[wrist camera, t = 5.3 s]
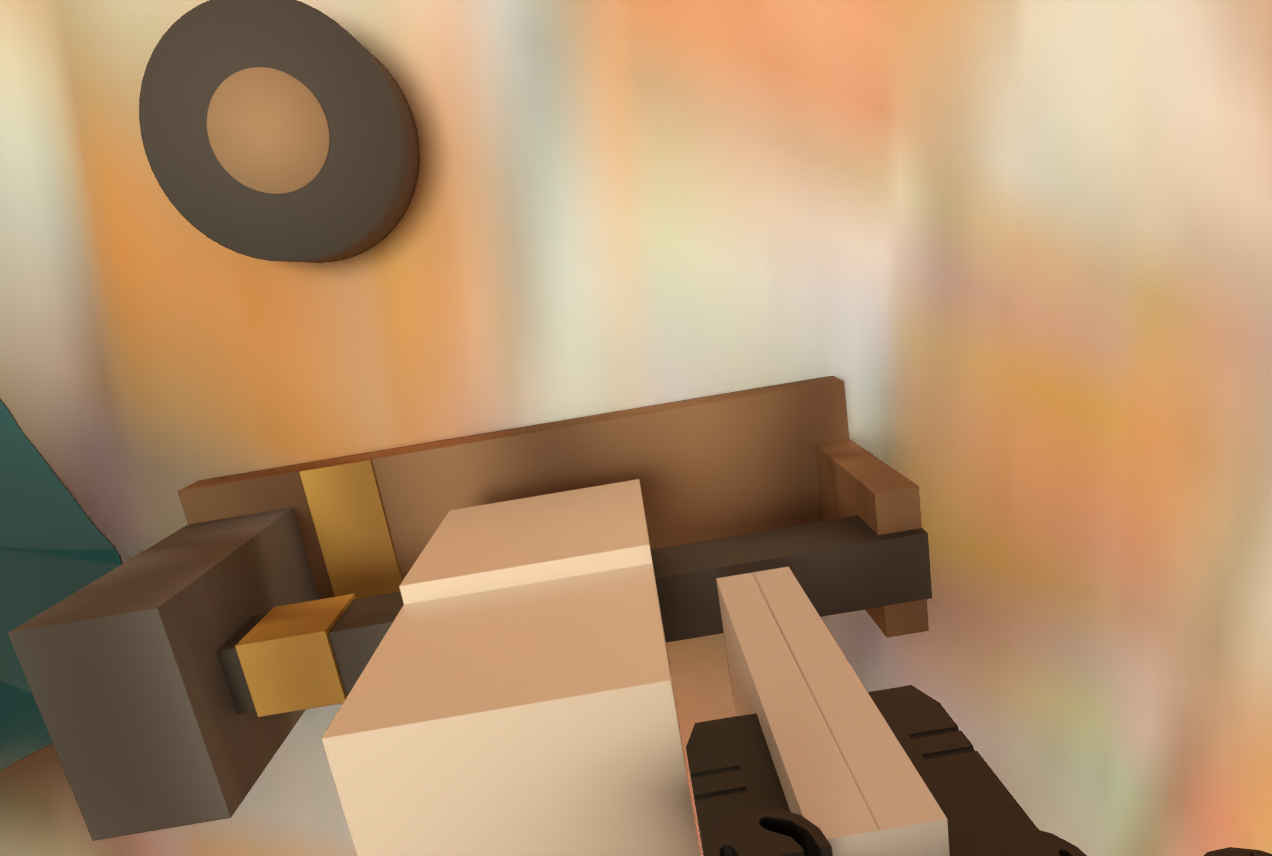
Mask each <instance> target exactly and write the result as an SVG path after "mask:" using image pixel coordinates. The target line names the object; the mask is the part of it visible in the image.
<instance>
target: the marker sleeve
mask: <svg viewBox="0 0 1272 856" xmlns="http://www.w3.org/2000/svg"><path fill="white" fill-rule="evenodd" d="M399 587H400V591H401V595H402V599H403V603H404V605H403V607H402V609H401V610H400V612H399V613H398V615H397V617H396V618H395V620H394V622H393V623H392V625H391V626H390V628H389V630H388V631H387V633H386V635H385V636H384V638H383V639H382V641H381V643H380V644H379V646H378V648H377V649H376V651H375V652H374V654H373V656H372V657H371V659H370V661H369V662H368V664H367V665H366V667H365V669H364V670H363V672H362V674H361V675H360V677H359V678H358V680H357V682H356V683H355V685H354V687H353V688H352V690H351V692H350V693H349V695H348V696H347V698H346V700H345V701H344V703H343V705H342V706H341V708H340V709H339V711H338V713H337V714H336V716H335V718H334V719H333V721H332V722H331V724H330V726H329V727H328V729H327V731H326V732H325V734H324V735H323V737H322V742H323V745H324V748H325V752H326V755H327V758H328V762H329V765H330V768H331V771H332V775H333V778H334V781H335V784H336V788H337V791H338V794H339V798H340V801H341V804H342V807H343V811H344V814H345V817H346V821H347V824H348V827H349V830H350V834H351V837H352V840H353V843H354V847H355V850H356V853H357V856H700V852H699V845H698V839H697V833H696V826H695V820H694V814H693V808H692V801H691V795H690V789H689V782H688V776H687V770H686V764H685V757H684V751H683V745H682V738H681V731H680V725H679V719H678V713H677V706H676V700H675V694H674V687H673V681H672V675H671V669H670V662H669V656H668V650H667V644H666V641H665V635H664V629H663V623H662V617H661V611H660V605H659V599H658V593H657V587H656V581H655V575H654V569H653V562H652V556H651V547H650V541H649V535H648V529H647V523H646V517H645V511H644V505H643V499H642V493H641V487H640V481H639V479H636V480H630V481H624V482H618V483H612V484H606V485H600V486H594V487H588V488H582V489H576V490H570V491H564V492H558V493H552V494H546V495H540V496H534V497H528V498H522V499H516V500H510V501H504V502H498V503H492V504H486V505H480V506H474V507H468V508H462V509H456V510H450V511H449V512H448V514H447V515H446V517H445V518H444V520H443V521H442V523H441V524H440V526H439V527H438V529H437V530H436V532H435V533H434V535H433V536H432V538H431V539H430V541H429V542H428V544H427V545H426V547H425V548H424V550H423V551H422V553H421V554H420V556H419V557H418V559H417V560H416V562H415V563H414V565H413V566H412V568H411V569H410V571H409V572H408V574H407V575H406V577H405V578H404V580H403V581H402V583H401V584H400V586H399Z"/></svg>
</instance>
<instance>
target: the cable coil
mask: <svg viewBox="0 0 1272 856" xmlns="http://www.w3.org/2000/svg"><path fill="white" fill-rule="evenodd" d="M139 120H140V128H141V136H142V140H143V144H144V149H145V153H146V155H147V158H148V161H149V164H150V166H151V169H152V171H153V173H154V175H155V177H156V179H157V181H158V183H159V185H160V187H161V188H162V190H163V191H164V193H165V194H166V196H167V197H168V199H169V200H170V202H171V203H172V204H173V205H174V206H175V208H176V209H177V210H178V211H179V212H180V214H181V215H182V216H183V217H184V218H185V219H187V220H188V221H189V222H190V223H191V224H192V225H193V226H194V227H195V228H196V229H198V230H199V231H200V232H202V233H203V234H204V235H206V236H207V237H208V238H210V239H212V240H213V241H215V242H217V243H218V244H220V245H222V246H224V247H226V248H228V249H230V250H233V251H235V252H237V253H240V254H243V255H246V256H250V257H253V258H257V259H263V260H269V261H289V262H316V263H322V262H333V261H338V260H342V259H347V258H350V257H352V256H355V255H358V254H360V253H362V252H364V251H366V250H368V249H369V248H371V247H373V246H374V245H376V244H377V243H378V242H380V241H381V240H382V239H384V238H385V237H386V236H387V235H388V234H389V233H390V232H391V231H392V230H393V229H394V228H395V226H396V225H397V223H398V222H399V221H400V219H401V218H402V217H403V215H404V213H405V211H406V209H407V207H408V206H409V204H410V201H411V198H412V196H413V193H414V190H415V186H416V182H417V177H418V170H419V142H418V136H417V129H416V126H415V122H414V119H413V115H412V112H411V110H410V107H409V105H408V103H407V100H406V98H405V96H404V95H403V93H402V91H401V89H400V87H399V86H398V84H397V83H396V81H395V80H394V79H393V77H392V76H391V74H390V73H389V72H388V70H387V69H386V68H385V67H384V66H383V65H382V64H381V63H380V62H379V61H378V60H377V59H376V58H375V57H374V56H373V55H372V54H371V53H370V52H369V51H368V50H367V49H366V48H364V47H363V46H362V45H361V44H360V43H359V42H358V41H357V40H356V39H355V38H354V37H353V36H352V35H350V34H349V33H348V32H347V31H346V30H345V29H344V28H342V27H341V26H340V25H339V24H338V23H337V22H335V21H334V20H333V19H331V18H329V17H328V16H326V15H325V14H323V13H322V12H320V11H319V10H317V9H315V8H313V7H311V6H309V5H307V4H305V3H303V2H300V1H297V0H210V1H207V2H205V3H202V4H200V5H198V6H197V7H195V8H193V9H192V10H190V11H189V12H187V13H186V14H184V15H183V16H182V17H181V18H180V19H178V20H177V21H176V22H175V23H174V24H173V25H172V26H171V27H170V28H169V29H168V31H167V32H166V33H165V34H164V35H163V36H162V38H161V40H160V41H159V43H158V44H157V46H156V47H155V49H154V51H153V53H152V55H151V57H150V60H149V62H148V64H147V66H146V70H145V73H144V77H143V80H142V85H141V92H140V99H139Z"/></svg>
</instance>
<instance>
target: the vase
mask: <svg viewBox="0 0 1272 856" xmlns="http://www.w3.org/2000/svg"><path fill="white" fill-rule="evenodd" d="M120 565H121V560H120V557H119V555H118V553H117V551H116V550H115V548H114V547H113V545H112V544H111V543H110V542H109V541H108V540H107V539H106V538H105V537H104V535H103V534H102V533H101V532H100V531H99V530H98V529H97V528H96V527H95V526H94V525H93V523H92V522H91V521H90V519H89V518H88V517H87V515H86V514H85V513H84V511H83V510H82V509H81V507H80V506H79V504H78V503H77V502H76V500H75V499H74V498H73V497H72V495H71V494H70V493H69V491H68V490H67V489H66V488H65V486H64V485H63V484H62V482H61V481H60V480H59V479H58V477H57V476H56V475H55V473H54V472H53V471H52V469H51V468H50V467H49V465H48V464H47V463H46V462H45V460H44V459H43V458H42V456H41V455H40V454H39V453H38V451H37V450H36V449H35V448H34V446H33V445H32V444H31V443H30V441H29V440H28V439H27V438H26V436H25V435H24V434H23V432H22V431H21V430H20V428H19V427H18V425H17V424H16V422H15V420H14V419H13V417H12V415H11V414H10V412H9V411H8V409H7V408H6V406H5V405H4V404H3V403H2V401H1V400H0V770H2V769H4V768H6V767H8V766H10V765H11V764H13V763H15V762H17V761H19V760H21V759H23V758H24V757H26V756H28V755H30V754H32V753H34V752H36V751H38V750H40V749H42V748H44V747H46V746H48V745H49V744H51V743H53V742H52V740H51V737H50V735H49V733H48V730H47V728H46V725H45V723H44V720H43V718H42V715H41V713H40V711H39V708H38V706H37V703H36V701H35V698H34V696H33V693H32V691H31V689H30V686H29V684H28V681H27V679H26V676H25V674H24V671H23V669H22V667H21V664H20V662H19V659H18V657H17V654H16V652H15V650H14V647H13V645H12V642H11V640H10V637H9V635H8V633H9V632H10V631H12V630H14V629H15V628H17V627H19V626H20V625H22V624H24V623H25V622H27V621H29V620H30V619H32V618H34V617H35V616H37V615H39V614H40V613H42V612H44V611H45V610H47V609H49V608H50V607H52V606H54V605H55V604H57V603H59V602H60V601H62V600H64V599H65V598H67V597H69V596H70V595H72V594H74V593H75V592H77V591H79V590H80V589H82V588H84V587H85V586H87V585H89V584H90V583H92V582H94V581H95V580H97V579H99V578H100V577H102V576H104V575H105V574H107V573H109V572H110V571H112V570H114V569H115V568H117V567H119V566H120Z"/></svg>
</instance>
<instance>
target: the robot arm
mask: <svg viewBox="0 0 1272 856" xmlns="http://www.w3.org/2000/svg"><path fill="white" fill-rule="evenodd" d="M716 581H717V588H718V595H719V603H720V610H721V617H722V624H723V631H724V638H725V646H726V653H727V660H728V667H729V674H730V681H731V689H732V696H733V699H734V703H735V706H736V709H737V713H738V716H736V717H730V718H724V719H718V720H712V721H706V722H700V723H695V725H694V728H693V731H692V733H691V736H690V739H689V741H688V744H687V746H686V749H687V756H688V762H689V768H690V774H691V781H692V787H693V793H694V799H695V806H696V812H697V818H698V824H699V830H700V836H701V842H702V848H703V854H704V856H1086V855H1085V854H1084V853H1083V852H1082V851H1081V850H1080V849H1079V848H1078V847H1076V846H1074V845H1072V844H1070V843H1069V842H1067V841H1065V840H1063V839H1061V838H1059V837H1057V836H1055V835H1054V834H1051V833H1047V832H1044V831H1040V830H1039V829H1038V828H1037V827H1036V826H1035V825H1034V823H1033V822H1032V821H1031V819H1030V818H1029V817H1028V816H1027V814H1026V813H1025V812H1024V810H1023V809H1022V808H1021V807H1020V805H1019V804H1018V803H1017V802H1016V800H1015V799H1014V798H1013V796H1012V795H1011V794H1010V793H1009V791H1008V790H1007V789H1006V787H1005V786H1004V785H1003V784H1002V782H1001V781H1000V780H999V778H998V777H997V776H996V775H995V773H994V772H993V771H992V770H991V768H990V767H989V766H988V764H987V763H986V762H985V761H984V759H983V758H982V757H981V755H980V754H979V753H978V752H977V751H974V748H973V745H972V744H971V743H970V741H969V740H968V739H967V738H966V736H965V735H964V734H963V732H962V731H959V729H958V726H957V725H956V723H955V722H954V721H953V720H952V718H951V717H950V716H949V715H948V713H947V712H946V711H945V709H944V708H943V707H942V706H941V704H940V703H939V702H937V701H936V700H934V699H932V698H931V697H929V696H928V695H926V694H924V693H923V692H921V691H920V690H918V689H916V688H915V687H913V686H912V685H909V686H903V687H897V688H891V689H885V690H879V691H873V692H867V691H866V689H865V687H864V686H863V684H862V683H861V681H860V679H859V678H858V676H857V675H856V673H855V671H854V670H853V668H852V667H851V665H850V663H849V662H848V660H847V659H846V657H845V656H844V654H843V652H842V651H841V649H840V648H839V646H838V644H837V643H836V641H835V640H834V638H833V636H832V635H831V633H830V632H829V630H828V629H827V627H826V625H825V624H824V622H823V621H822V619H821V617H820V616H819V614H818V613H817V611H816V609H815V608H814V606H813V605H812V603H811V601H810V600H809V598H808V597H807V595H806V594H805V592H804V590H803V589H802V587H801V586H800V584H799V582H798V581H797V579H796V578H795V576H794V574H793V573H792V571H791V570H790V568H789V567H783V568H777V569H771V570H765V571H758V572H752V573H746V574H740V575H734V576H728V577H722V578H716ZM1204 856H1272V854H1270V853H1266V852H1263V851H1260V850H1251V849H1241V848H1232V847H1230V848H1225V849H1220V850H1215V851H1211V852H1207V853H1206V854H1205V855H1204Z"/></svg>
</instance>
